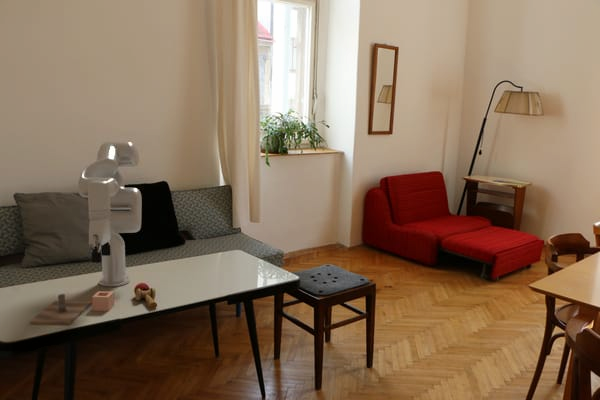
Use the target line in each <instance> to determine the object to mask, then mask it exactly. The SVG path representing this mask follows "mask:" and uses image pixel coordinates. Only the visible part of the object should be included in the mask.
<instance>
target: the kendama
mask: <svg viewBox="0 0 600 400" xmlns="http://www.w3.org/2000/svg"><path fill="white" fill-rule="evenodd" d="M133 291H134V296H135V300H136V301H140V300H141V299H145V301H146V303H147V304H148V307H149V309H150V310H153V309H154V310H155V309H157V307H158V303H157V302H156V301H155V299H156V295H157V294H156V288H154V287H150V286H149V285H148V284H147V283H146V282H139V283H137V284H136V285H135V287H134V290H133Z"/></svg>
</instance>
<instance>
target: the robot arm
mask: <svg viewBox="0 0 600 400" xmlns="http://www.w3.org/2000/svg"><path fill="white" fill-rule="evenodd" d="M96 156H97V158H96V161H94V162H92V163H91V164H89V165H87V166H86V167H84V168H83V169H82V171H81V172H80V176H79V179H78V183H77V192H78V194H79V195H80V196H81V197H82V198H88V199H87V200H88V201H87V202H88V218H89V224H88V244H89V246H90V252H91V263H95V264H98V263H99V264H100V263H101V267H102V278H100V279H99V280H98V283H99V285H100V286H102V287H103V286H104V287H120V286H124V285H126V284H128V283H129V282H130V280H131V279H130V277H129V276H128V275H126V273H127V272H126V271H127V269H126V249H125V248H126V245H125V244H126V243H125V241H124V239H123V237H122V236H121V235H120V234H125V233H127V234H129V233H130V234H131V233H132V234H133V233H137V232H139V231H140V230H141V228H142V213H143V212H142V211H143V210H142V207H143V206H142V205H143V203H142V202H143V201H142V193H141V191H140V189H138V188H136V187H125V177H124V175H123V174H122V173H121V172H120V171H119V170H118V168H121V167H122V168H127V167H128V168H132V167H133V168H135V167H136V166H138V164H139V162H140V153H139V151H138V149H137V147H136V145H135V144H134V143H133V142H131V141H106V142H103V143H102V144H101V145H100V147H99V150H98V151H97V155H96Z"/></svg>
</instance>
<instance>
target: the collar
mask: <svg viewBox="0 0 600 400" xmlns="http://www.w3.org/2000/svg"><path fill="white" fill-rule="evenodd" d="M91 298H92V299H91V301H92V304H91V305H92V312H110V310H111V309H113V307H114V306H115V292H114V291H102V290H101V291H97V292H96V293H94V295H93V296H91Z"/></svg>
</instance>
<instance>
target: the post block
mask: <svg viewBox="0 0 600 400" xmlns="http://www.w3.org/2000/svg"><path fill="white" fill-rule="evenodd" d="M57 296H58V297H57V298H58V300H55V301H53V302H52V303H51V304H49V305H48V306H46V308H44V309H43V310H42V311H40V312H39V313H38V314H36V315H35V316H34V317H33V318H32V319H30V320H29V324H30V325H31V324H32V325H68V326H70V325H71V324H73V323H74V322H75V320H76V319H78V318H79V317H80V316H81V315H83V313H84V312H85V311H86V310H87V309H89V307H90V306H92V305H93V304H92V300H89V301H86V300H85V301H84V300H83V301H82V300H80V301H79V300H66V294H63V293H61V294H58V295H57Z"/></svg>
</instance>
